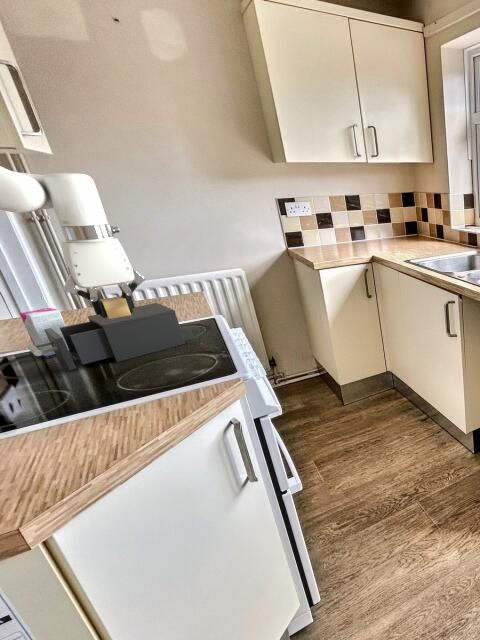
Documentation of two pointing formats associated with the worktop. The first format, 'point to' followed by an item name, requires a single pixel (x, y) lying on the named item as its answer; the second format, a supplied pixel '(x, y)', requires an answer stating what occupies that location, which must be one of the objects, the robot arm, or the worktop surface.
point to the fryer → (141, 331)
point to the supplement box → (43, 326)
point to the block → (116, 307)
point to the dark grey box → (76, 344)
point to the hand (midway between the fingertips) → (116, 313)
